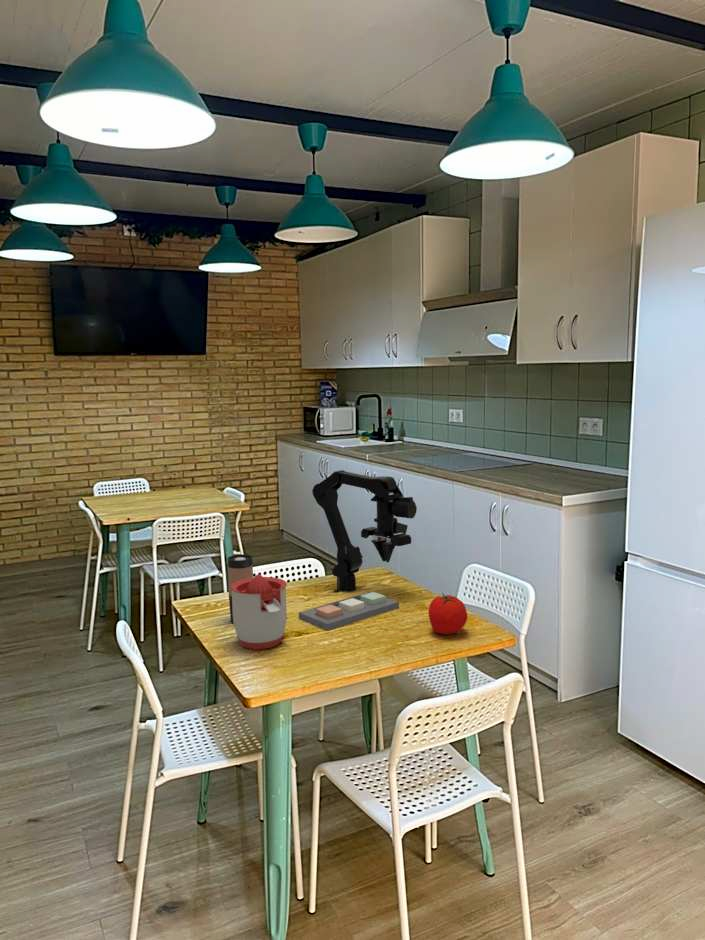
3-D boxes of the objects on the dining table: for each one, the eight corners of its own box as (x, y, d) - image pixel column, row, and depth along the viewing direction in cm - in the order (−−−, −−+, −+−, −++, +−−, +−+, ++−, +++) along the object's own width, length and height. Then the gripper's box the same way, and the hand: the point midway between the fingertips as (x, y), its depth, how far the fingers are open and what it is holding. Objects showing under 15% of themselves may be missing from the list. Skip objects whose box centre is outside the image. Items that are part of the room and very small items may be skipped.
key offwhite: (339, 609, 220) (338, 602, 219) (352, 605, 223) (352, 598, 223) (350, 613, 215) (350, 606, 215) (364, 609, 219) (364, 602, 219)
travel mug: (259, 618, 220) (257, 555, 217) (246, 626, 213) (243, 561, 210) (239, 615, 223) (236, 553, 221) (224, 622, 216) (222, 559, 214)
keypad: (298, 621, 216) (298, 611, 216) (369, 600, 235) (369, 591, 235) (327, 634, 206) (327, 623, 205) (398, 610, 224) (398, 600, 224)
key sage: (360, 603, 225) (360, 595, 225) (373, 599, 229) (373, 591, 229) (372, 607, 221) (372, 599, 221) (385, 603, 225) (385, 595, 224)
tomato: (441, 622, 213) (441, 586, 212) (474, 630, 206) (475, 594, 205) (419, 634, 204) (418, 597, 203) (453, 643, 197) (453, 604, 196)
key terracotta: (316, 616, 214) (315, 608, 213) (330, 612, 217) (330, 604, 217) (327, 621, 210) (327, 613, 209) (342, 616, 213) (342, 608, 213)
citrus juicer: (250, 660, 188) (247, 587, 185) (224, 640, 202) (221, 572, 200) (301, 646, 196) (299, 577, 194) (273, 628, 211) (270, 563, 208)
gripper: (423, 515, 230) (423, 562, 232) (383, 508, 244) (384, 552, 246) (398, 520, 223) (399, 569, 225) (359, 512, 237) (360, 558, 239)
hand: (385, 561), depth 234 cm, fingers closed
